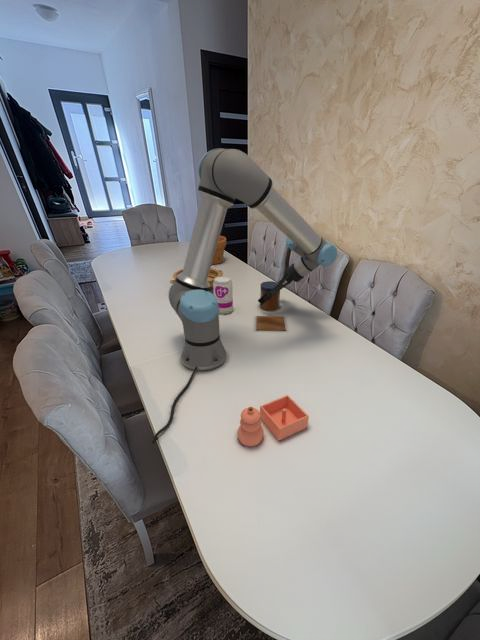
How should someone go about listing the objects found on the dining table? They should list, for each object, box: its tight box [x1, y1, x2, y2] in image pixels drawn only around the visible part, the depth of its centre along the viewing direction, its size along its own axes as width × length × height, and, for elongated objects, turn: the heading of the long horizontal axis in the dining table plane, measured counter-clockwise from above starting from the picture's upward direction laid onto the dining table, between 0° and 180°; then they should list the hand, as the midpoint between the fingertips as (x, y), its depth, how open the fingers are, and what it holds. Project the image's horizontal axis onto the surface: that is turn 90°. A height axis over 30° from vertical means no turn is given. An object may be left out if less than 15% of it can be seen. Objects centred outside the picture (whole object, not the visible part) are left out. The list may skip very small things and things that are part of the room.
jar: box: [259, 289, 281, 312], centre depth 142 cm, size 9×9×10 cm
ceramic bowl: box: [169, 267, 224, 290], centre depth 160 cm, size 30×24×8 cm
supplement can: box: [212, 275, 234, 315], centre depth 136 cm, size 8×8×15 cm
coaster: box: [256, 315, 287, 332], centre depth 130 cm, size 12×12×1 cm
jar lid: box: [260, 280, 278, 292], centre depth 139 cm, size 9×9×2 cm
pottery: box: [237, 394, 310, 448], centre depth 78 cm, size 18×10×10 cm, turn 121°
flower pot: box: [211, 235, 227, 266], centre depth 198 cm, size 21×21×15 cm
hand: (265, 296), depth 143 cm, fingers open, 13 cm apart
